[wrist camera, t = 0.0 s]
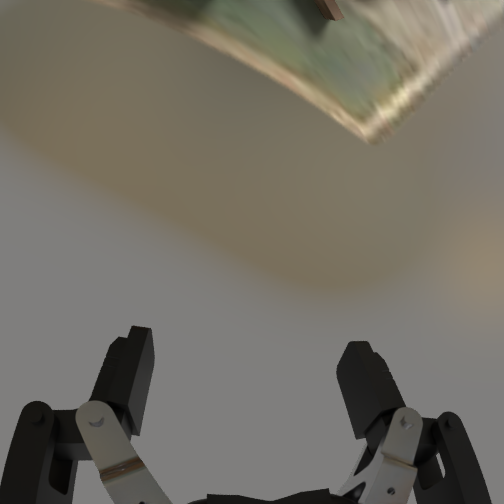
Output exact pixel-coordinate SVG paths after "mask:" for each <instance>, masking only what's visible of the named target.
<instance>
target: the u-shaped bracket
mask: <svg viewBox="0 0 504 504" xmlns="http://www.w3.org/2000/svg"><path fill="white" fill-rule="evenodd" d="M314 1H315V3H316V5H317V6H318V8H319V10H320V11H321V13H322V15H323V16H324V18H325V19H330V20H334V21H337V20H340V19H343V18H344V16H343V14H342V13H341V11H340V9H339V7H338V5H337V4H336V2H335V0H314Z"/></svg>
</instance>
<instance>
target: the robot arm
mask: <svg viewBox="0 0 504 504" xmlns="http://www.w3.org/2000/svg"><path fill="white" fill-rule="evenodd" d="M154 356H155V355H154V346H153V338H152V330H151V328H146V327H139V326H132V327H131V329H130V332H129V335H128V337H127V338H124V337H118V338H117V339H116V340H115V341H114V342H113V343H112V344H111V345H110V347H109V349H108V352H107V354H106V358H105V359H104V362H103V366H102V367H101V370H100V373H99V375H98V378H97V381H96V384H95V386H94V389H93V392H92V395H91V397H90V399H89V401H88V402H86V403H84V404H82V405H81V406H80V407H79V408H78V409H74V410H52V409H51V408H50V407H49V405H47V404H46V403H44V402H41V401H33V402H30V403H28V404H27V405H26V406H25V407H24V408H23V410H22V412H21V415H20V417H19V420H18V423H17V426H16V429H15V432H14V436H13V438H12V442H11V445H10V449H9V452H8V456H7V460H6V464H5V467H4V472H3V476H2V480H1V485H0V504H72V499H73V491H74V484H75V478H76V471H77V465H78V460H93V461H94V463H95V465H96V467H97V469H98V471H99V473H100V478H101V481H102V483H103V485H104V486H105V488H106V490H107V492H108V494H109V495H110V497H111V499H112V500H113V502H114V504H173V503H172V502H171V501H170V500H169V498H168V497H167V496H166V494H165V493H164V492H163V490H162V489H161V488H160V486H159V485H158V483H157V482H156V480H155V479H154V478H153V476H152V475H151V473H150V472H149V470H148V469H147V467H146V466H145V464H144V463H143V461H142V460H141V459H140V458H139V456H138V454H137V453H136V451H135V450H134V448H133V446H132V445H131V443H130V440H131V435H137V436H140V430H141V425H142V420H143V415H144V410H145V405H146V400H147V395H148V390H149V386H150V382H151V377H152V373H153V368H154V359H155V357H154ZM336 374H337V379H338V383H339V385H340V389H341V392H342V395H343V398H344V401H345V404H346V408H347V411H348V414H349V418H350V421H351V424H352V428H353V431H354V434H355V438H356V439H362V438H366V441H367V443H366V444H365V445H364V447H363V449H362V452H361V454H360V456H359V458H358V460H357V462H356V464H355V466H354V468H353V471H352V472H351V474H350V476H349V478H348V480H347V481H346V482H345V483H344V485H343V486H342V487H341V488H340V490H339V491H338V493H337V494H336V495H334V494H330V492H329V488H327V489H321V490H314V491H306V492H300V493H297V494H294V495H291V496H288V497H284V498H281V499H278V500H274V501H265V500H260V499H254V498H249V497H244V496H240V495H215V494H207V499H201V500H197V501H193V502H190V503H188V504H407V501H408V498H409V496H410V493H411V490H412V487H413V489H414V493H415V497H416V501H417V504H492V503H491V500H490V496H489V493H488V490H487V486H486V483H485V480H484V478H483V474H482V471H481V469H480V466H479V463H478V460H477V458H476V455H475V452H474V450H473V447H472V445H471V442H470V440H469V438H468V435H467V433H466V430H465V428H464V426H463V423H462V421H461V419H460V418H459V417H458V416H457V415H456V414H454V413H452V412H444V413H442V414H441V415H440V416H439V417H438V418H437V419H433V418H423V417H421V416H420V414H419V413H418V412H417V411H416V410H414V409H412V408H409V407H406V405H405V403H404V401H403V398H402V396H401V394H400V392H399V390H398V387H397V385H396V383H395V381H394V380H393V377H392V375H391V372H389V368H388V367H387V364H386V362H385V360H384V359H383V358H382V357H381V356H380V355H379V354H378V353H377V352H375V353H374V352H373V350H372V348H371V346H370V344H369V342H367V341H351V342H349V343H348V345H347V347H346V349H345V351H344V353H343V355H342V357H341V359H340V361H339V364H338V365H337V371H336ZM438 453H440V456H441V459H442V462H443V465H444V469H445V477H444V478H443V476H442V473H441V469H440V466H439V464H438V460H437V457H436V455H437V454H438Z"/></svg>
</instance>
